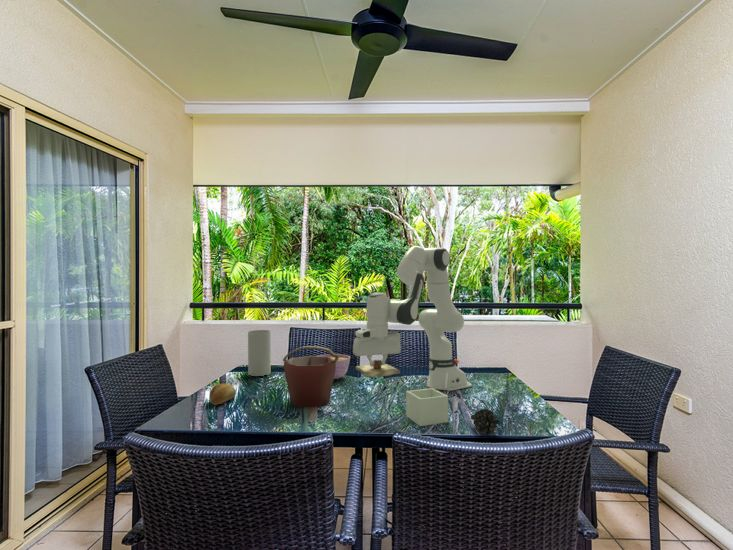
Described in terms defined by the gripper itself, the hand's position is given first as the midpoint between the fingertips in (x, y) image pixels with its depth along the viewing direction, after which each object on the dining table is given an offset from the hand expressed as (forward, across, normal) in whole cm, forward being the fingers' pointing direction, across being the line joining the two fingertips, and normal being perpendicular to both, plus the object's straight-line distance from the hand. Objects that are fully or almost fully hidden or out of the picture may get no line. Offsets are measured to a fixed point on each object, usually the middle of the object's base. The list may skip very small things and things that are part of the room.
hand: (377, 365), depth 169 cm
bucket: (+20, +23, -24) cm, 39 cm away
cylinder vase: (+20, +39, -87) cm, 97 cm away
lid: (+2, 0, 0) cm, 2 cm away
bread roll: (+20, +60, -40) cm, 75 cm away
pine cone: (+20, -29, +31) cm, 47 cm away
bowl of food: (+19, +2, -63) cm, 66 cm away
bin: (+19, -15, +14) cm, 28 cm away
